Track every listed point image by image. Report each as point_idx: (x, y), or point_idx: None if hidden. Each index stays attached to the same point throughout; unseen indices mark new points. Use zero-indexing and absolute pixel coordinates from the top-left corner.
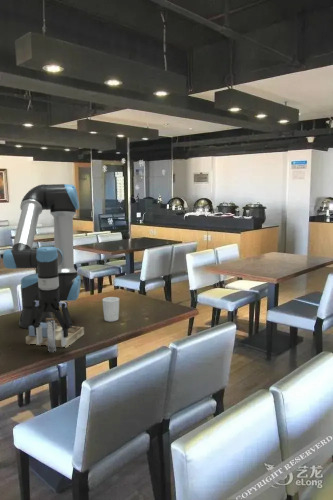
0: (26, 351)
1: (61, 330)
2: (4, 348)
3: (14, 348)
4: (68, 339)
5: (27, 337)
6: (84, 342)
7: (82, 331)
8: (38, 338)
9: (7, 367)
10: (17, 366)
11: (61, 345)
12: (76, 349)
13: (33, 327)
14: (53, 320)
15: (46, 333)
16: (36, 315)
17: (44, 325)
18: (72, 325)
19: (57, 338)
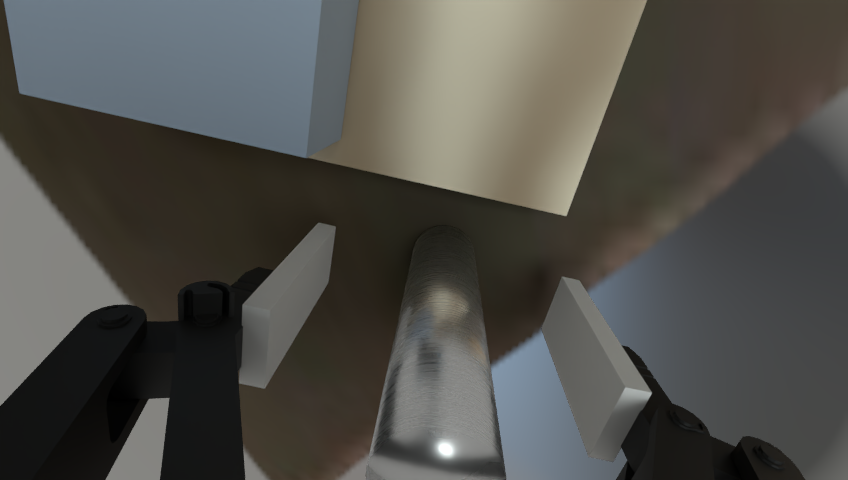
0: (251, 260)
1: (597, 456)
2: (49, 202)
3: (125, 202)
4: (581, 166)
5: None
6: (713, 55)
7: None
8: (310, 309)
9: (266, 459)
10: (314, 452)
11: (543, 333)
12: (638, 228)
13: (102, 111)
14: (480, 464)
15: (325, 146)
16: (64, 453)
17: (216, 20)
18: (788, 465)
19: (461, 159)
